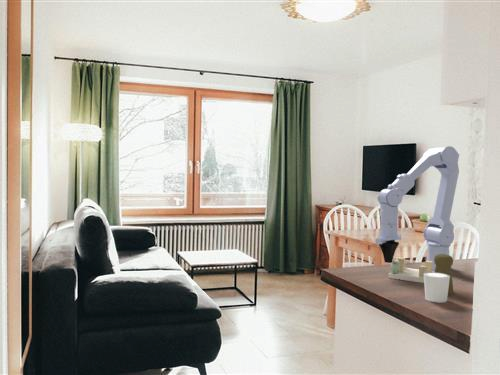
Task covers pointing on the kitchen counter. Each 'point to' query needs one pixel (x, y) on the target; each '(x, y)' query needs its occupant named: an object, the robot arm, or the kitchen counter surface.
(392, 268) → the hinged leg
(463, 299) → the kitchen counter surface
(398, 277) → the stool seat
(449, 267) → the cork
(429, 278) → the shot glass
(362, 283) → the kitchen counter surface
